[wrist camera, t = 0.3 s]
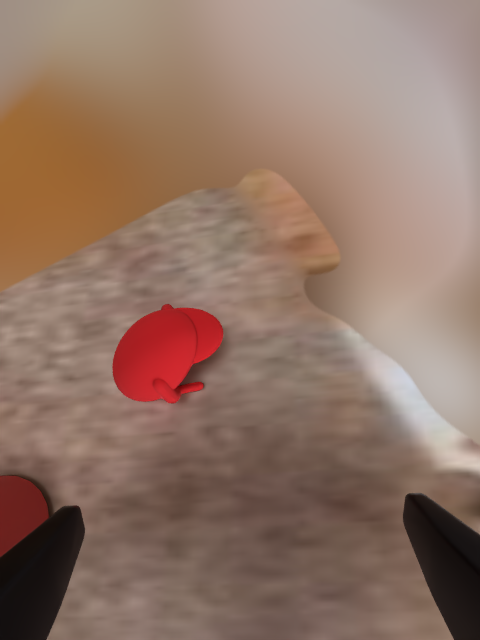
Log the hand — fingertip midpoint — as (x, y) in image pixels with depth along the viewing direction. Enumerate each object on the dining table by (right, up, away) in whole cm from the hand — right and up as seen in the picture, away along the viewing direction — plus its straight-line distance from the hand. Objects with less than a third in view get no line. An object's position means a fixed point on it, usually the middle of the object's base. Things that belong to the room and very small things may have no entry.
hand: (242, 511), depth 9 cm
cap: (-5, +2, +16) cm, 17 cm away
